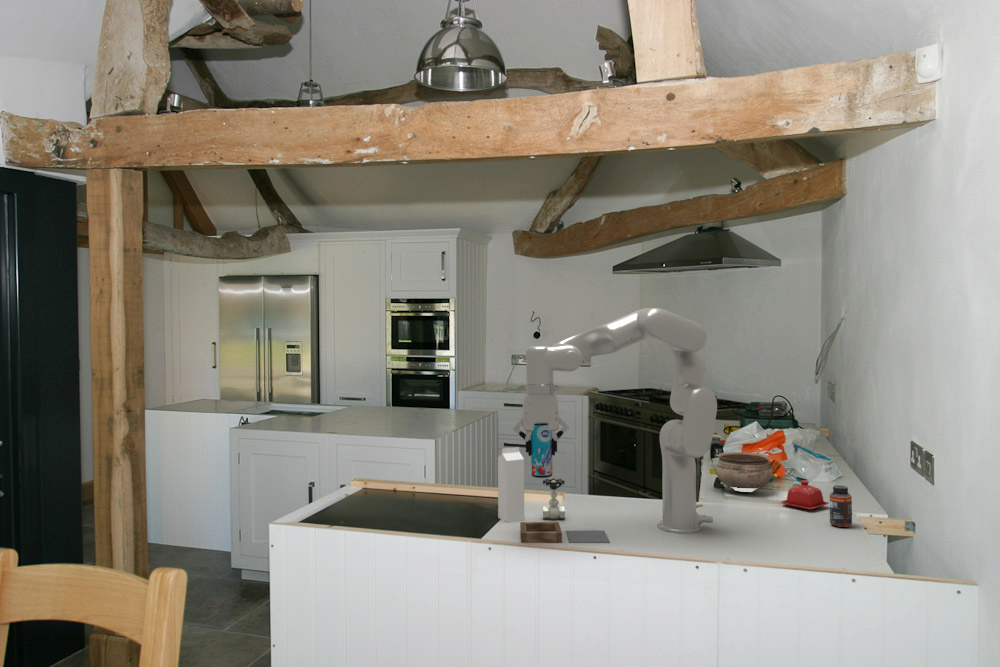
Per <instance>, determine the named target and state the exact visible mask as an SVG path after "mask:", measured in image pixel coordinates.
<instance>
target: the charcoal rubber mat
mask: <svg viewBox="0 0 1000 667" xmlns="http://www.w3.org/2000/svg"><path fill="white" fill-rule="evenodd" d="M565 534H566V536H567V539H568V543H569V544H611V541H610V540H609V536H608V535H607V533H606V531H605V530H597V529H596V530H594V529H593V530H565Z"/></svg>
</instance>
